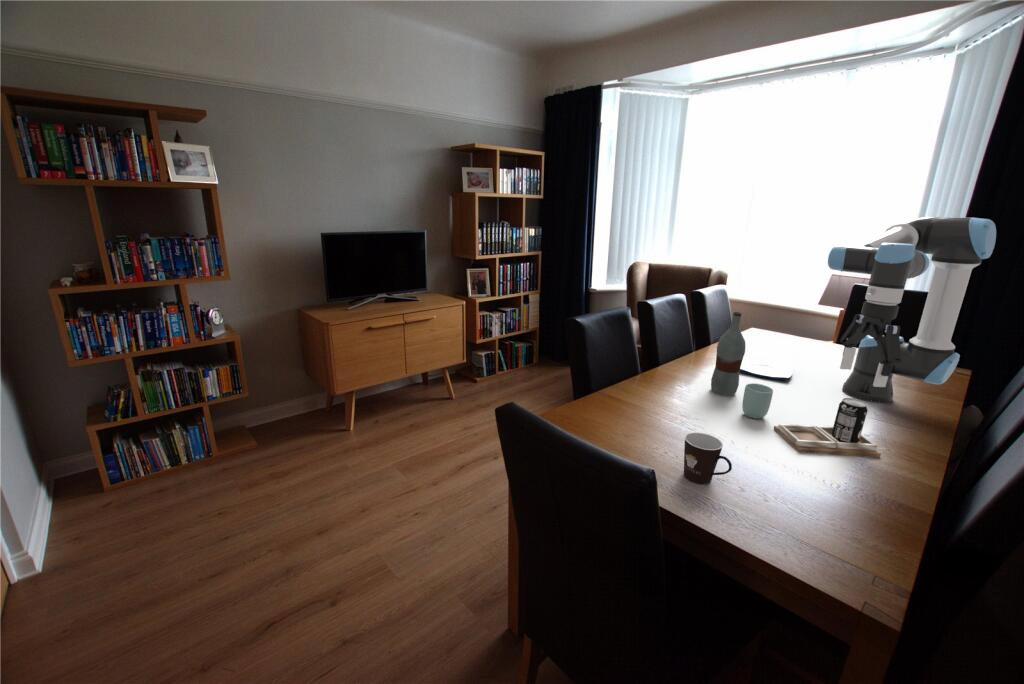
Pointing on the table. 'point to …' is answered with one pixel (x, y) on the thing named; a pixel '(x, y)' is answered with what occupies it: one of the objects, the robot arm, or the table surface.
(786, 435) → the divided tray
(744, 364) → the plate
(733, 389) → the bottle
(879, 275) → the robot arm
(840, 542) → the table surface
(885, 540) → the table surface
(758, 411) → the cup
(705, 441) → the coffee mug
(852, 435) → the beverage can
